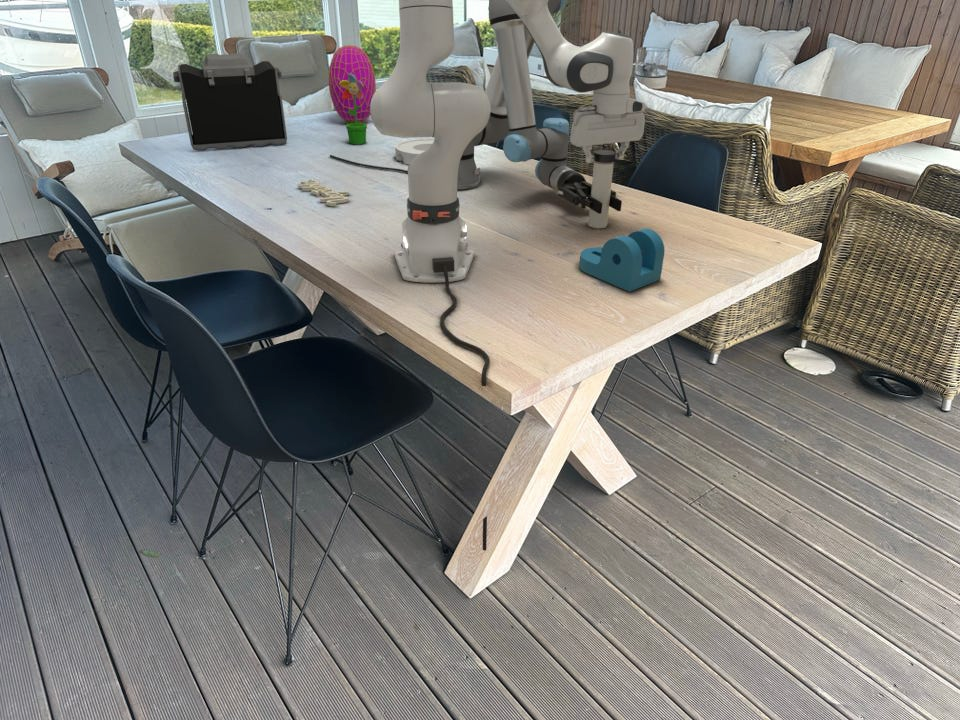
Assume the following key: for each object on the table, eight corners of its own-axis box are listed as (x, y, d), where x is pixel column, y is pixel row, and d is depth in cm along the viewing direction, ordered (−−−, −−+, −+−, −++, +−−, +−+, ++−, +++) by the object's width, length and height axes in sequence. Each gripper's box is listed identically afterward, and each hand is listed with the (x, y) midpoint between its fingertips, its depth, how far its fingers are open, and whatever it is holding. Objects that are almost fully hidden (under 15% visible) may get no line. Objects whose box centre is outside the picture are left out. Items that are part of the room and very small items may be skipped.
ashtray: (454, 167, 232) (454, 155, 230) (388, 164, 235) (387, 152, 233) (466, 151, 252) (466, 140, 250) (404, 148, 255) (404, 137, 253)
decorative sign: (361, 197, 199) (330, 204, 194) (361, 201, 200) (330, 207, 195) (320, 177, 217) (291, 182, 212) (321, 180, 218) (291, 185, 213)
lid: (603, 156, 179) (604, 148, 178) (619, 160, 176) (620, 152, 175) (588, 159, 176) (589, 151, 175) (604, 164, 173) (605, 156, 172)
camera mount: (660, 279, 153) (667, 234, 148) (629, 291, 148) (635, 245, 142) (600, 255, 165) (604, 213, 160) (569, 265, 160) (573, 222, 154)
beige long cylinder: (607, 228, 182) (614, 157, 173) (588, 227, 183) (594, 156, 173) (606, 222, 187) (614, 152, 177) (588, 221, 187) (594, 152, 178)
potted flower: (342, 144, 260) (336, 73, 247) (351, 139, 266) (346, 70, 254) (365, 146, 257) (360, 74, 245) (374, 141, 264) (369, 71, 251)
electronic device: (284, 132, 276) (273, 51, 260) (292, 144, 258) (281, 58, 243) (187, 139, 264) (169, 54, 249) (188, 152, 246) (169, 62, 231)
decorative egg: (362, 116, 305) (357, 42, 290) (386, 123, 292) (382, 46, 277) (324, 121, 294) (316, 45, 279) (347, 129, 281) (340, 49, 266)
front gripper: (581, 109, 163) (576, 168, 170) (651, 103, 170) (643, 159, 177) (567, 105, 168) (563, 162, 175) (635, 99, 175) (629, 154, 182)
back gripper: (594, 192, 201) (638, 217, 182) (539, 199, 195) (578, 225, 176) (597, 167, 197) (642, 189, 178) (540, 172, 191) (580, 196, 172)
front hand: (604, 160), depth 176 cm, fingers open, 8 cm apart
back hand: (610, 207), depth 177 cm, fingers closed on beige long cylinder, 5 cm apart
